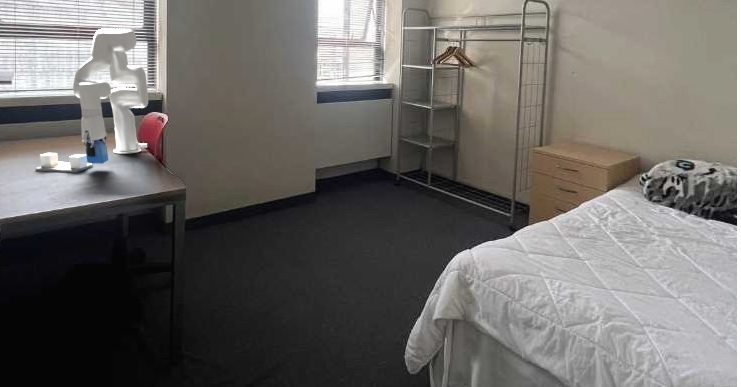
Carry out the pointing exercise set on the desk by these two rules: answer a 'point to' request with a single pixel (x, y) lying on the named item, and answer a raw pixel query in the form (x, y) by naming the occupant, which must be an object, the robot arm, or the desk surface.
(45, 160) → the module rail
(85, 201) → the desk surface
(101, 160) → the perfume bottle
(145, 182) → the desk surface
